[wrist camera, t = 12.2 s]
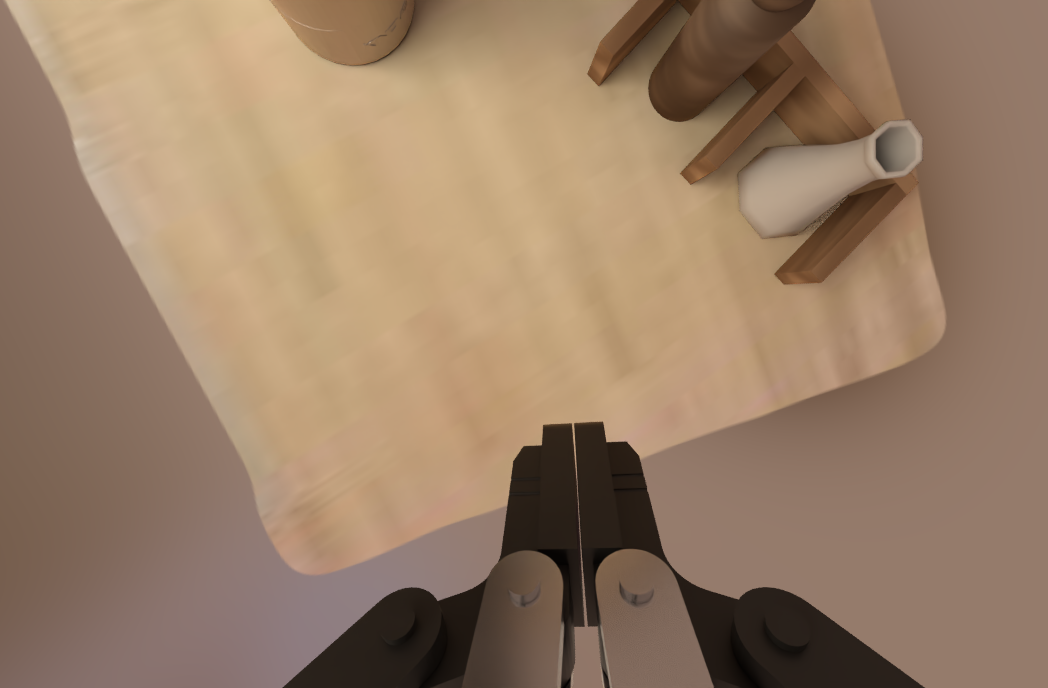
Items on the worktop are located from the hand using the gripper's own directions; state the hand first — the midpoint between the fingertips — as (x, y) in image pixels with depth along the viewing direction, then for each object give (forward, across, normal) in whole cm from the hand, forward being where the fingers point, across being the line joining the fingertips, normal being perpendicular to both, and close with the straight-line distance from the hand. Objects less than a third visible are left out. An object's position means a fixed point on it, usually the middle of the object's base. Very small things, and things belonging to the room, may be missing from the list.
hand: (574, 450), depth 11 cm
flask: (+28, -17, -1) cm, 33 cm away
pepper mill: (+30, -10, -9) cm, 32 cm away
